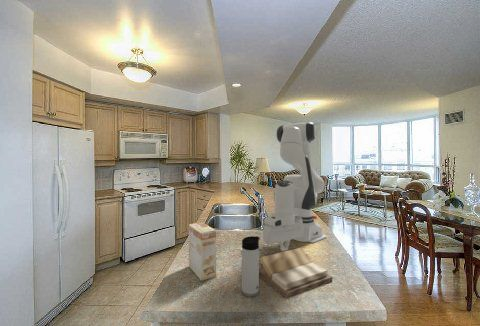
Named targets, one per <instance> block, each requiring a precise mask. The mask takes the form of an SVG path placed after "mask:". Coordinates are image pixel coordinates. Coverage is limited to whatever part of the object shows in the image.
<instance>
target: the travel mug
mask: <svg viewBox="0 0 480 326" xmlns="http://www.w3.org/2000/svg"><path fill="white" fill-rule="evenodd" d="M260 239H261V238H260V237H259V236H253V235H252V236H246V237H243V238H242V240H241V248H242V251H241V293H242V294H243V295H244V296H246V297H252V298H253V297H256V296H257V295H258V294H259V291H260V288H259V287H260V286H259V285H260V276H259V268H260V246H259V244H260V242H259V241H260Z"/></svg>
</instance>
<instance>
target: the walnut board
mask: <svg viewBox="0 0 480 326" xmlns="http://www.w3.org/2000/svg"><path fill="white" fill-rule="evenodd" d="M260 277H261V279H263V281H265V282H266V283H268V284H269V285H270V286H271V287H272V288H273V289H274V290H276V291H277V292H278V293H280V294H281V295H282V296H283V297H284V298H286V299H287V298H288V297H291V296H294V295H296V294H300V293H302V292H303V293H304V292H305V291H309V290H311V289H314V288H316V287H319V286H321V285H324V284H326V283H329V282H332V281H333V278H334V277H333V276H332V275H330V274H328V273H327V276H324V277H321V278H318V279H316V280H313V281H310V282H307V283H304V284H301V285H299V286H296V287H293V288H290V289H287V290H284V289H283V288H281V287H280V286H279V285H278V284H276V283H275V282H274V281H273V280H272V277H269V275H268V273H267V272H266V270H265V268H264V266H262V267H259V278H260Z"/></svg>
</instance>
